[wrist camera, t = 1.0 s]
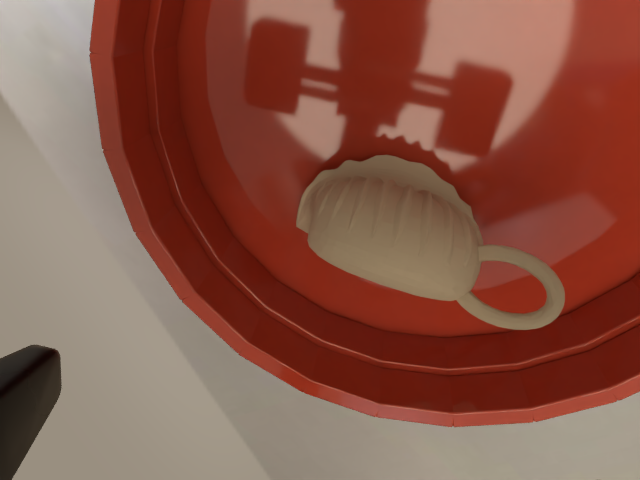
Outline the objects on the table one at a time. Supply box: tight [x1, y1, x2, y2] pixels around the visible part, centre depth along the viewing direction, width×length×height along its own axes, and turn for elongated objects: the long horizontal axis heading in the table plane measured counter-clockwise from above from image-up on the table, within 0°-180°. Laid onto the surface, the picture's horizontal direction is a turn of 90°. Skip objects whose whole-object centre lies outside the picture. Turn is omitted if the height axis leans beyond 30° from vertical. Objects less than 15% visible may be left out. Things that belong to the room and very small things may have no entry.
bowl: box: [90, 0, 640, 427], centre depth 16 cm, size 21×21×4 cm
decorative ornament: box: [296, 155, 565, 330], centre depth 17 cm, size 4×8×5 cm, turn 71°
